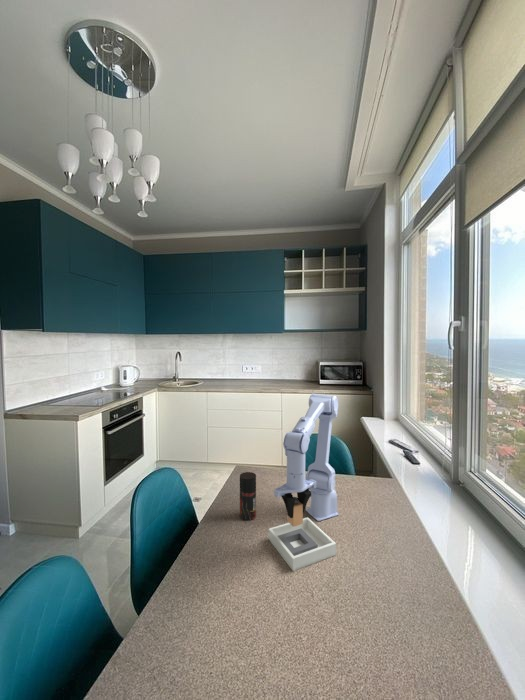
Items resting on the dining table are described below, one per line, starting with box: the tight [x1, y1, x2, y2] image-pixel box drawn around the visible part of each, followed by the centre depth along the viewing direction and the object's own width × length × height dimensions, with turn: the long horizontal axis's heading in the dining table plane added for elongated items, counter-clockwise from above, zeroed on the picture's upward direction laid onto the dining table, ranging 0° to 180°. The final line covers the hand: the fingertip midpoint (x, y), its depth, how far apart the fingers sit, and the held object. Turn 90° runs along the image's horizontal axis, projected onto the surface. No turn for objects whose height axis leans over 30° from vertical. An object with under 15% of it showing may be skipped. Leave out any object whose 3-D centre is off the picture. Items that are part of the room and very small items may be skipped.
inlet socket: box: [278, 528, 318, 556], centre depth 93 cm, size 9×9×2 cm
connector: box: [286, 496, 304, 527], centre depth 94 cm, size 4×4×8 cm
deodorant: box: [239, 471, 257, 522], centre depth 110 cm, size 6×6×15 cm
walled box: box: [268, 516, 337, 572], centre depth 93 cm, size 15×15×4 cm
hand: (295, 514), depth 93 cm, fingers closed on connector, 3 cm apart
